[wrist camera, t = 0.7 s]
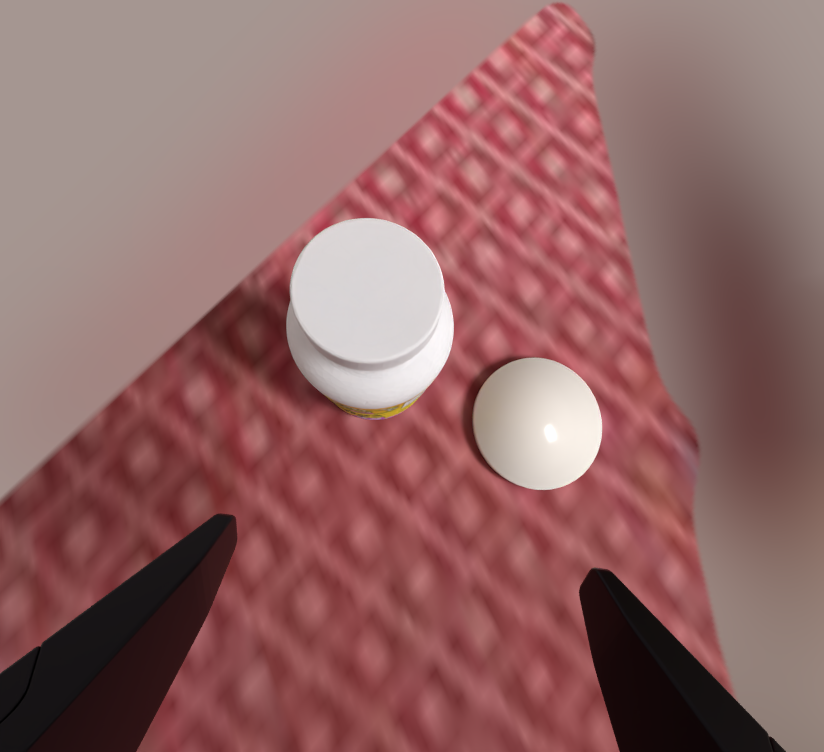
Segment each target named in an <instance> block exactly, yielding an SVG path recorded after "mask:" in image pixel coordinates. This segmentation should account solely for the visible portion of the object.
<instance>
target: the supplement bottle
mask: <svg viewBox="0 0 824 752" xmlns="http://www.w3.org/2000/svg"><path fill="white" fill-rule="evenodd" d="M290 299H291V301H290V304H289V308H288V312H287V320H286V330H287V339H288V344H289V348H290V351H291V354H292V356H293V359H294V361H295V363H296V365H297V366H298V368H299V370H300V371H301V372H302V374H303V375H304V377H305V378H306V379H307V380H308V381H309V382H310V383H311V384H312V385H313V386H314V387H315V388H316V389H317V390H319V391H320V392H321V393H322V394H323V395H325V396H326V397H327V398H328V399H329V400H331V401H332V402H333V403H334V404H336V405H337V406H338V407H339V408H341V409H342V410H344V411H345V412H347V413H349V414H351V415H353V416H356V417H359V418H363V419H368V420H380V419H386V418H390V417H393V416H395V415H398V414H400V413H401V412H403V411H405V410H406V409H407V408H409V407H410V406H411V405H412V404H413V403H414V402H415V401H416V400H417V399H418V398H419V397H420V396H421V395H422V393H423V392H424V391H425V390H426V389H427V387H428V386H429V385H430V384H431V383H432V382H433V381H434V379H435V378H436V377H437V375H438V374H439V372H440V371H441V369H442V368H443V366H444V364H445V362H446V360H447V358H448V356H449V353H450V350H451V346H452V341H453V333H454V323H453V314H452V310H451V305H450V303H449V300H448V297H447V295H446V293H445V291H444V281H443V276H442V272H441V269H440V266H439V264H438V262H437V260H436V258H435V256H434V254H433V253H432V251H431V250H430V249H429V247H428V246H427V245H426V244H425V243H424V242H423V241H422V240H421V239H420V238H419V237H418V236H417V235H415V234H414V233H412V232H411V231H409V230H408V229H406V228H404V227H402V226H400V225H397V224H395V223H393V222H389V221H386V220H381V219H374V218H359V219H351V220H346V221H343V222H340V223H337V224H334V225H332V226H330V227H328V228H326V229H325V230H323V231H322V232H320V233H319V234H317V235H316V236H315V237H314V238H313V239H312V240H311V241H310V242H309V243H308V244H307V245H306V246H305V248H304V249H303V250H302V252H301V253H300V255H299V257H298V259H297V261H296V263H295V265H294V268H293V272H292V276H291V281H290Z"/></svg>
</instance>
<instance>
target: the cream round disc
mask: <svg viewBox="0 0 824 752" xmlns="http://www.w3.org/2000/svg"><path fill="white" fill-rule="evenodd" d="M472 426H473V433H474V437H475V441H476V443H477V446H478V449H479V450H480V452H481V454H482V456H483V458H484V459H485V460H486V462H487V463H488V464H489V465H490V467H491V468H492V469H493V470H494V471H495V472H497V473H498V474H499V475H500V476H502V477H503V478H505V479H506V480H508V481H510V482H512V483H514V484H516V485H520V486H523V487H526V488H530V489H536V490H549V489H555V488H559V487H563V486H565V485H567V484H570V483H571V482H573V481H575V480H576V479H578V478H579V477H580V476H581V475H583V474H584V472H585V471H586V470H587V469H588V468H589V467H590V465H591V464H592V462H593V461H594V459H595V457H596V455H597V452H598V449H599V447H600V442H601V436H602V420H601V414H600V410H599V407H598V404H597V401H596V399H595V397H594V395H593V393H592V392H591V390H590V388H589V387H588V386H587V384H586V383H585V382H584V381H583V380H582V379H581V378H580V377H579V376H578V375H577V374H576V373H575V372H574V371H572V370H571V369H569V368H568V367H566V366H564V365H562V364H560V363H558V362H555V361H552V360H549V359H544V358H524V359H519V360H516V361H513V362H510V363H508V364H506V365H504V366H502V367H501V368H499V369H498V370H497V371H495V372H494V373H493V374H492V375H491V376H489V377H488V379H487V380H486V381H485V382H484V383H483V385H482V387H481V388H480V390H479V392H478V394H477V397H476V399H475V403H474V406H473V413H472Z"/></svg>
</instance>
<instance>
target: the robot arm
mask: <svg viewBox="0 0 824 752" xmlns="http://www.w3.org/2000/svg"><path fill="white" fill-rule="evenodd" d="M236 543H237V527H236V518H235V516H233V515H228V514H216V515H214V516H213V517H212V518H210V519H209V520H208V521H206V522H205V523H203V524H202V525H201V526H199V527H198V528H197V529H195V530H194V531H193V532H191V533H190V534H189V535H187V536H186V537H185V538H183V539H182V540H180V541H179V542H178V543H176V544H175V545H174V546H172V547H171V548H170V549H168V550H167V551H166V552H164V553H163V554H162V555H160V556H159V557H157V558H156V559H155V560H153V561H152V562H151V563H149V564H148V565H147V566H145V567H144V568H143V569H141V570H140V571H139V572H137V573H136V574H135V575H133V576H132V577H130V578H129V579H128V580H126V581H125V582H124V583H122V584H121V585H120V586H118V587H117V588H116V589H114V590H113V591H112V592H110V593H109V594H107V595H106V596H105V597H103V598H102V599H101V600H99V601H98V602H97V603H95V604H94V605H93V606H91V607H90V608H89V609H87V610H86V611H84V612H83V613H82V614H80V615H79V616H78V617H76V618H75V619H74V620H72V621H71V622H70V623H68V624H67V625H66V626H64V627H63V628H61V629H60V630H59V631H57V632H56V633H55V634H53V635H52V636H51V637H49V638H48V639H47V640H45V641H44V642H43V643H42V644H41V647H40V646H38V647H36V648H34V649H33V650H32V651H30V652H29V653H27V654H26V655H25V656H23V657H22V658H21V659H19V660H18V661H17V662H15V663H14V664H13V665H11V666H10V667H8V668H7V669H6V670H4V671H3V672H1V673H0V752H136V751H137V749H138V747H139V745H140V743H141V741H142V740H143V738H144V736H145V734H146V732H147V730H148V728H149V726H150V724H151V722H152V721H153V719H154V717H155V715H156V713H157V711H158V709H159V707H160V705H161V703H162V701H163V700H164V698H165V696H166V694H167V692H168V690H169V688H170V686H171V684H172V682H173V681H174V679H175V677H176V675H177V673H178V671H179V669H180V667H181V665H182V663H183V661H184V660H185V658H186V656H187V654H188V652H189V650H190V648H191V646H192V644H193V642H194V640H195V639H196V637H197V635H198V633H199V631H200V629H201V627H202V625H203V623H204V621H205V619H206V617H207V615H208V613H209V610H210V608H211V606H212V604H213V601H214V599H215V596H216V594H217V591H218V589H219V586H220V584H221V581H222V579H223V577H224V574H225V572H226V569H227V567H228V564H229V562H230V559H231V557H232V554H233V552H234V550H235V547H236ZM579 596H580V601H581V606H582V611H583V616H584V621H585V626H586V630H587V635H588V640H589V645H590V650H591V654H592V659H593V663H594V667H595V670H596V674H597V677H598V681H599V684H600V687H601V691H602V694H603V697H604V701H605V704H606V707H607V711H608V714H609V717H610V721H611V724H612V727H613V731H614V734H615V737H616V741H617V744H618V747H619V751H620V752H786V751H785V750H784V749H783V748H782V747H781V746H780V745H779V744H778V743H777V742H776V741H775V740H774V739H773V738H772V737H769V736H768V733H767V732H766V731H765V730H764V729H763V728H762V727H761V725H759V723H758V722H757V721H756V720H755V719H754V718H753V717H752V716H751V715H750V714H749V713H748V712H747V711H746V710H745V709H744V708H743V707H742V706H741V705H740V704H739V703H738V702H737V701H736V700H735V699H734V698H733V697H732V696H731V695H730V693H729V692H728V691H727V690H726V689H725V688H724V687H723V686H722V685H721V684H720V683H719V682H718V681H717V680H716V679H715V678H714V677H713V676H712V675H711V674H710V673H709V672H708V671H707V670H706V669H705V668H704V667H703V666H702V665H701V664H700V662H699V661H698V660H697V659H696V658H695V657H694V656H693V655H692V654H691V653H690V652H689V651H688V650H687V649H686V648H685V647H684V646H683V645H682V644H681V643H680V642H679V641H678V640H677V639H676V638H675V637H674V636H673V635H672V634H671V633H670V631H669V630H668V629H667V628H666V627H665V626H664V625H663V624H662V623H661V622H660V621H659V620H658V619H657V618H656V617H655V616H654V615H653V614H652V613H651V612H650V611H649V610H648V609H647V608H646V607H645V606H644V605H643V604H642V603H641V602H640V601H639V599H638V598H637V597H636V596H635V595H634V594H633V593H632V592H631V591H630V590H629V589H628V588H627V587H626V586H625V585H624V584H623V583H622V582H621V581H620V580H619V579H618V578H617V577H616V576H615V575H614V574H613V573H612V572H611V571H610V570H607V569H602V568H592V569H591V570H590V571H589V573H588V574H587V576H586V578H585V579H584V581H583V583H582V584H581V586H580V590H579Z"/></svg>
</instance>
